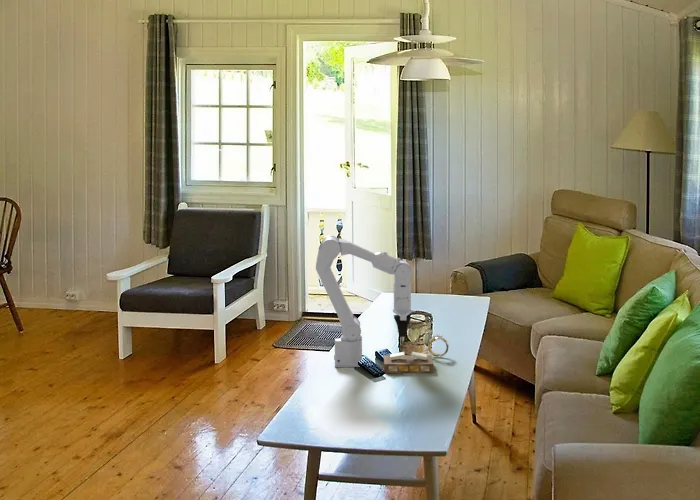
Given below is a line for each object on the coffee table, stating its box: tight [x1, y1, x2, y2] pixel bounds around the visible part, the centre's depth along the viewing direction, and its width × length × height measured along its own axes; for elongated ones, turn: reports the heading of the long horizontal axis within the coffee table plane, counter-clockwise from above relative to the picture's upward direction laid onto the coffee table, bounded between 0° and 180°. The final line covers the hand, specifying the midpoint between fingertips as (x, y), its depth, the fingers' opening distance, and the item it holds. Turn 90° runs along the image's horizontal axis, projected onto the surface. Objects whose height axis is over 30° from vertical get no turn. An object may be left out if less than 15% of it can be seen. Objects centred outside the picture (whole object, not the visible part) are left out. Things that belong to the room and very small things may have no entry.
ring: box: [427, 334, 450, 358], centre depth 291 cm, size 7×3×8 cm, turn 74°
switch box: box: [383, 354, 434, 374], centre depth 279 cm, size 16×10×4 cm, turn 89°
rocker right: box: [411, 351, 428, 360], centre depth 278 cm, size 5×4×1 cm
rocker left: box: [389, 351, 406, 360], centre depth 278 cm, size 5×4×1 cm
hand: (402, 336), depth 283 cm, fingers closed
